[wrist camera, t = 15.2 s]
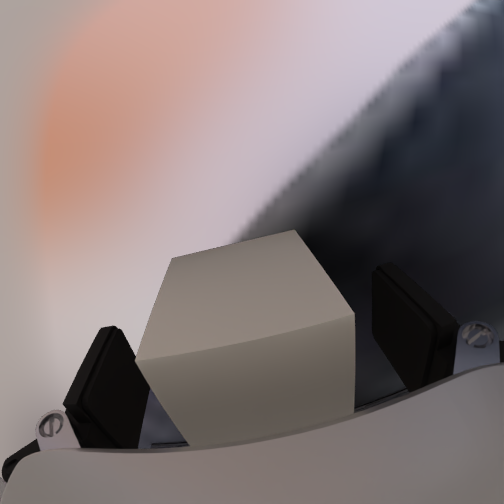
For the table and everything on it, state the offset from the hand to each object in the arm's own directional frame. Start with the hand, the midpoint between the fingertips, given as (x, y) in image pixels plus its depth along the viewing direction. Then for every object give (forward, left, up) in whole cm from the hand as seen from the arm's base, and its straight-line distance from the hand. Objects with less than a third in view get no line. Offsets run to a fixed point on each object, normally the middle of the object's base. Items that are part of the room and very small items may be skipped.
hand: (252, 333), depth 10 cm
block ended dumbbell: (0, +5, -2) cm, 6 cm away
